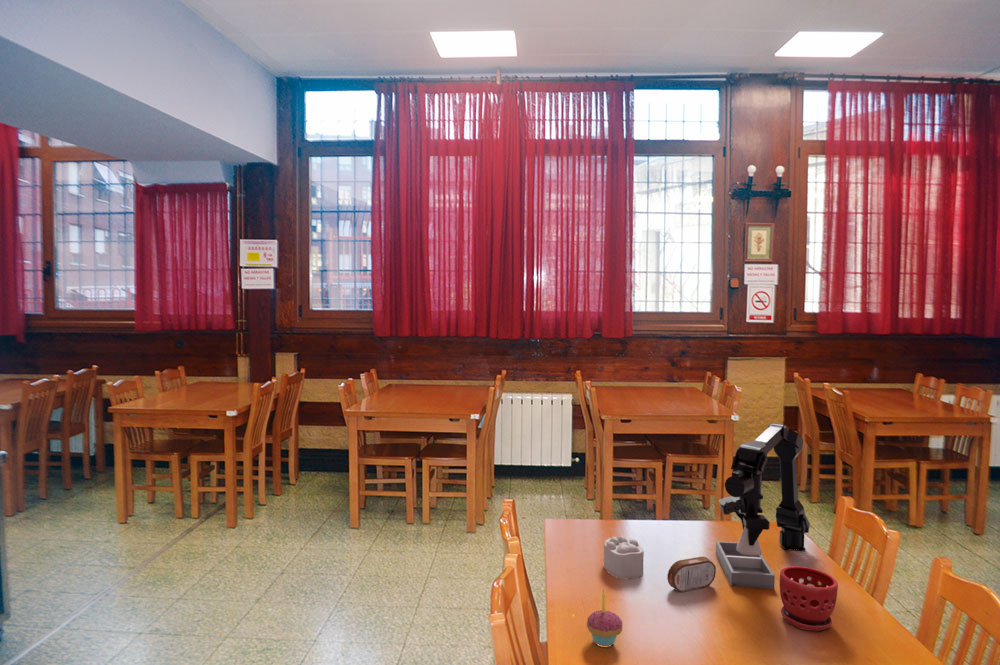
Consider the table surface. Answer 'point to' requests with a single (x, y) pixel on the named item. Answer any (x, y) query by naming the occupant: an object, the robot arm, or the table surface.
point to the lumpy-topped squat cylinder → (623, 557)
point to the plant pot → (807, 597)
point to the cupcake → (604, 625)
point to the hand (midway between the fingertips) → (748, 541)
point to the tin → (691, 574)
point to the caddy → (744, 567)
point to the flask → (745, 547)
